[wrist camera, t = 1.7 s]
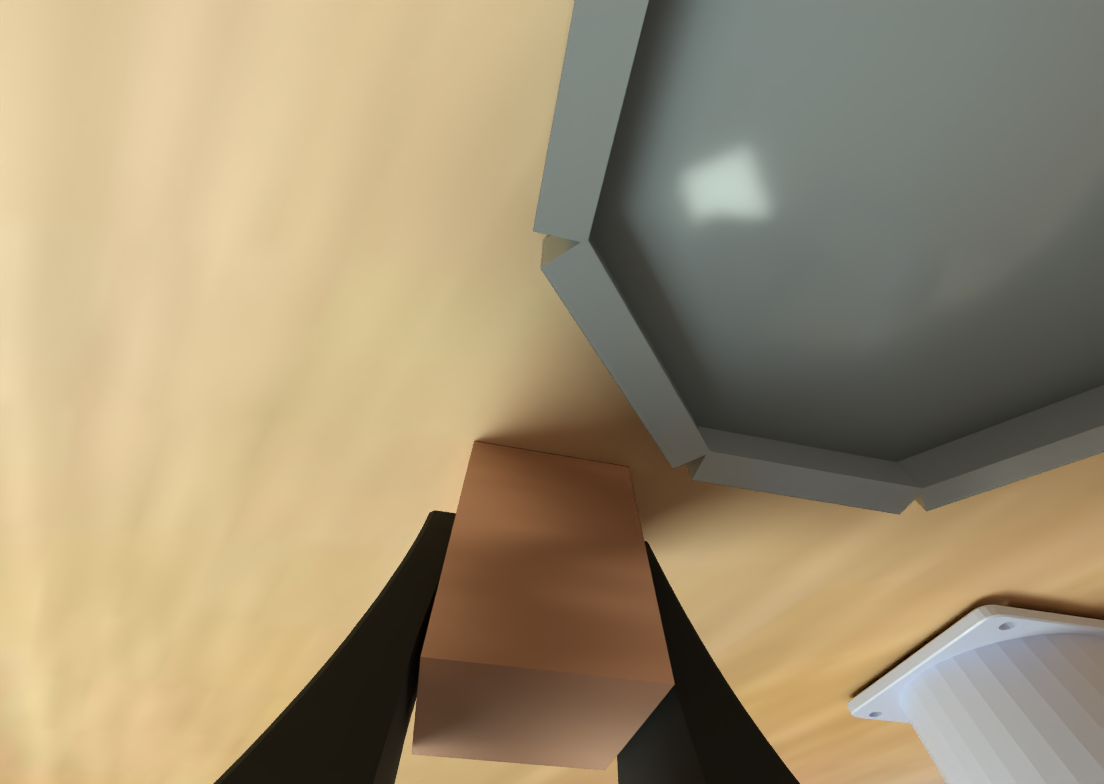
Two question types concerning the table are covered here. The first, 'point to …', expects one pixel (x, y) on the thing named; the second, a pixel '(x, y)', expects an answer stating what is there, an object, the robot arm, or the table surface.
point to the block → (541, 617)
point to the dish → (839, 236)
